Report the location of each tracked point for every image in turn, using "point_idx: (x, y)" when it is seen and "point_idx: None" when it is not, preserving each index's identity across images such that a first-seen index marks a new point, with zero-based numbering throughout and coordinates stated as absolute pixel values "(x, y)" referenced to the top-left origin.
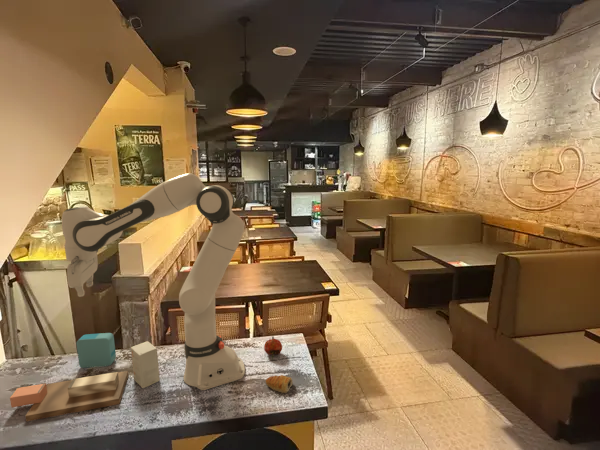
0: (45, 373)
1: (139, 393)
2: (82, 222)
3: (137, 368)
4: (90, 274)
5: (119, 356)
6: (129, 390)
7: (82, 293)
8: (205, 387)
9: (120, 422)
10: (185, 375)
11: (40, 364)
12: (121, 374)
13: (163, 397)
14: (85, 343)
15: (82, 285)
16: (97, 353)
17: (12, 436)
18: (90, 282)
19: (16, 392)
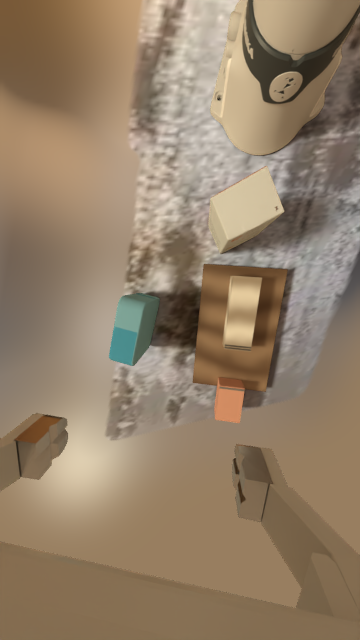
0: (147, 390)
1: (268, 240)
2: None
3: (251, 234)
4: (9, 626)
5: (132, 288)
6: (251, 258)
7: (280, 473)
8: (324, 99)
9: (333, 262)
10: (275, 141)
11: (117, 401)
12: (211, 274)
13: (301, 194)
14: (138, 348)
15: (357, 591)
16: (149, 322)
17: (287, 394)
18: (37, 449)
19: (228, 418)
